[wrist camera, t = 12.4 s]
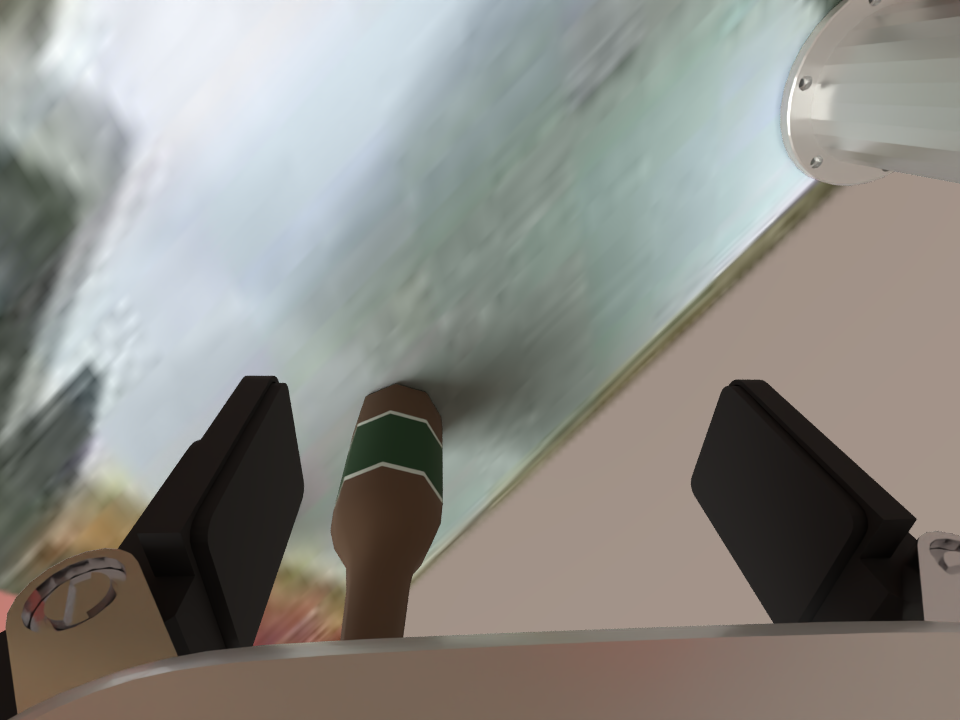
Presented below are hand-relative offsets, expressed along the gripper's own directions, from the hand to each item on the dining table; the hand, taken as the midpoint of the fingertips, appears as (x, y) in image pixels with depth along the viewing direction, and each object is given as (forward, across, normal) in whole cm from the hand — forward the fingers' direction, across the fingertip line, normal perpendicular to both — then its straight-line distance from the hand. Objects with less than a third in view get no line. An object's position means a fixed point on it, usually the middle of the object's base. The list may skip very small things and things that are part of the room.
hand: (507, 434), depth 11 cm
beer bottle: (+28, +5, +20) cm, 35 cm away
